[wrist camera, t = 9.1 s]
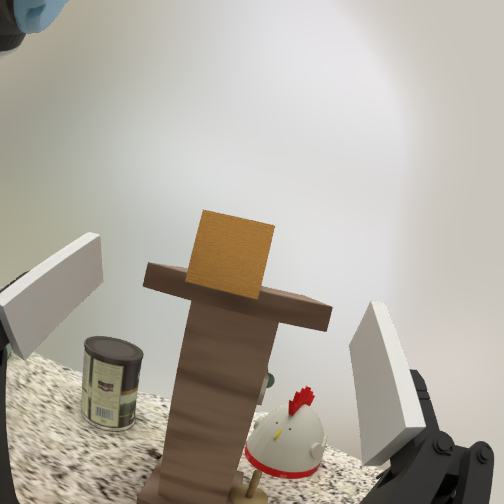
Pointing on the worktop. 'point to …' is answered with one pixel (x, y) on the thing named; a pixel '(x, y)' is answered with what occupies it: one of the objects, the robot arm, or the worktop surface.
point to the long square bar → (230, 254)
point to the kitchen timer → (288, 439)
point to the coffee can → (110, 382)
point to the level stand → (219, 387)
